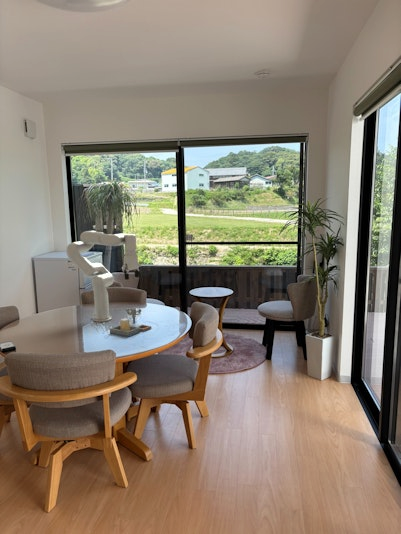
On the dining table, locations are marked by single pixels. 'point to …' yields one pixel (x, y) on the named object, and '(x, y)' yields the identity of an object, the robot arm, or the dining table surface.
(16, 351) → the dining table surface
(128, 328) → the block
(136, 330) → the parts tray
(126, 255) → the robot arm
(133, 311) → the mechanical component
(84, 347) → the dining table surface
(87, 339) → the dining table surface
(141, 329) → the brown flat square frame
